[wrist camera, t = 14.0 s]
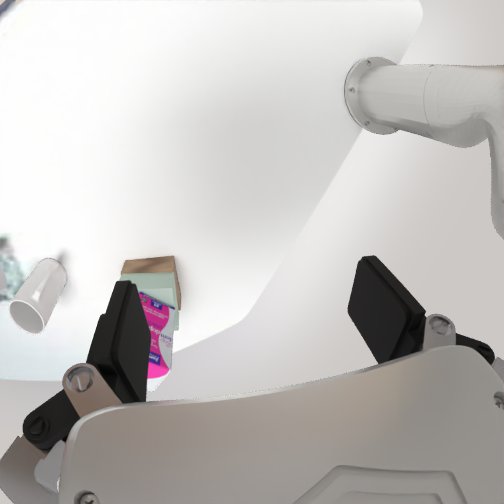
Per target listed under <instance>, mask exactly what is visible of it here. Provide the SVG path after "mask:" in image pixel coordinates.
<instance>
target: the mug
mask: <svg viewBox="0 0 504 504" xmlns="http://www.w3.org/2000/svg"><path fill="white" fill-rule="evenodd" d="M66 281H67V274H66V271H65V269H64V268H63V266H62V265H61V264H60V263H59V262H57V261H56V260H54V259H50V258H46V259H43V260H42V261H41V262H40V263H39V264H38V265H37V266H36V268H35V269H34V270H33V271H32V273H31V274H30V275H29V277H28V278H27V279H26V281H25V282H24V283H23V285H22V286H21V288H20V289H19V290H18V292H17V293H16V295H15V296H14V298H13V299H12V301H11V302H10V304H9V308H8V309H9V314H10V317H11V318H12V320H13V322H14V323H15V324H16V325H17V326H18V327H19V328H20V329H21V330H23V331H24V332H26V333H29V334H32V335H38V334H41V333H42V332H43V331H44V328H45V326H46V324H47V322H48V320H49V318H50V315H51V313H52V311H53V309H54V307H55V305H56V302H57V300H58V298H59V296H60V294H61V292H62V290H63V288H64V286H65V284H66Z"/></svg>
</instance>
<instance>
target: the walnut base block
mask: <svg viewBox="0 0 504 504" xmlns="http://www.w3.org/2000/svg"><path fill="white" fill-rule="evenodd" d="M157 272H174V278H175V287H176V295H177V302H178V310H180V309H181V293H180V288H179V283H178V278H177V273H176V267H175V261H174V256H166V257H156V258H146V259H136V260H126V261H125V263H124V266H123V269H122V271H121V275H122V274H127V273H157Z"/></svg>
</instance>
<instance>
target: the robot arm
mask: <svg viewBox="0 0 504 504" xmlns="http://www.w3.org/2000/svg"><path fill="white" fill-rule="evenodd" d="M366 63H367V64H366ZM350 89H351V91H350ZM345 99H346V103H347V106H348V109H349V111H350V113H351V115H352V116H353V118H354V119H355V121H356V122H357V123H358V124H359V125H360V126H362V127H363V128H364V129H366V130H368V131H370V132H373V133H376V134H383V135H384V134H391V133H394V132H396V131H398V130H399V129H400V130H404V131H407V132H411V133H414V134H418V135H421V136H424V137H428V138H431V139H434V140H437V141H441V142H443V143H446V144H449V145H452V146H455V147H461V148H467V147H472V146H475V145H477V144H479V143H481V142H482V141H484V140H485V139H487V138H488V140H489V146H490V157H491V169H492V171H491V173H492V174H491V175H492V177H491V179H492V181H491V216H492V221H493V224H494V227H495V229H496V231H497V233H498V234H499V235H500V236H501V237H502V238H503V239H504V65H497V66H460V65H458V66H457V65H396V64H395V63H393V62H392V61H390V60H388V59H385V58H380V57H371V58H366V59H363V60H361V61H359V62H358V63H356V64H355V65H354V66H353V67H352V69H351V70H350V72H349V74H348V76H347V79H346V83H345ZM425 313H426V311H425V309H424V308H423V307H422V306H421V305H420V304H419V303H418V301H417V300H416V299H415V298H414V297H413V296H412V295H411V294H410V292H409V291H408V290H407V289H406V288H405V287H404V286H403V285H402V283H401V282H400V281H399V280H398V279H397V278H396V277H395V276H394V275H393V274H392V273H391V272H390V270H388V268H387V267H386V266H385V265H384V264H383V263H382V262H381V261H380V260H379V259H378V258H377V257H376V256H374V255H373V256H364V257H362V259H361V260H360V261H359V262H358V264H357V269H356V274H355V278H354V283H353V287H352V292H351V296H350V300H349V305H348V314H349V316H350V318H351V319H352V321H353V322H354V324H355V326H356V327H357V329H358V330H359V332H360V334H361V336H362V337H363V339H364V340H365V342H366V344H367V345H368V347H369V349H370V350H371V352H372V354H373V356H374V357H375V359H376V361H377V362H378V365H374V366H371V367H368V368H364V369H360V370H357V371H353V372H349V373H345V374H341V375H337V376H333V377H329V378H324V379H320V380H315V381H311V382H306V383H302V384H296V385H291V386H286V387H280V388H275V389H268V390H262V391H255V392H249V393H242V394H234V395H225V396H216V397H205V398H195V399H181V400H167V401H149V402H146V391H147V378H148V367H149V356H150V347H151V332H150V329H149V326H148V322H147V319H146V316H145V313H144V310H143V306H142V303H141V299H140V296H139V292H138V289H137V286H136V284H135V283H132V282H131V281H130V280H124V281H117V282H116V284H115V287H114V289H113V292H112V295H111V298H110V301H109V304H108V307H107V310H106V313H105V314H102V315H101V316H100V318H99V321H98V324H97V327H96V330H95V333H94V337H93V340H92V343H91V347H90V350H89V354H88V357H87V361H86V363H80V364H76V365H74V366H72V367H71V368H69V369H68V370H67V371H66V373H65V374H64V377H63V380H62V385H63V388H64V389H63V390H62V391H60V392H59V393H57V394H56V395H55V396H53V397H52V398H50V399H49V400H48V401H46V402H45V403H43V404H42V405H41V406H39V407H38V408H36V409H35V410H34V411H32V412H31V413H30V414H29V415H28V416H27V417H26V418H25V420H24V423H23V433H24V434H23V436H22V437H21V438H20V437H19V436H17V438H16V439H15V440H14V442H13V443H12V444H11V446H10V447H9V449H8V450H7V451H6V453H5V454H4V456H3V457H2V458H1V460H0V488H1V490H2V491H3V492H4V493H5V494H6V496H7V497H8V498H9V499H10V500H11V501H12V502H13V503H14V504H504V360H502V359H501V358H499V357H497V358H496V359H495V356H494V352H493V350H492V349H491V348H490V347H489V346H488V345H487V344H485V343H483V342H481V341H478V340H475V339H472V338H469V337H466V336H463V335H460V334H457V333H456V332H455V326H454V324H453V322H452V321H451V320H450V319H448V318H447V317H446V316H443V315H440V314H432V315H430V316H428V317H427V318H426V316H425ZM59 477H60V481H59V493H58V490H57V481H58V479H59Z"/></svg>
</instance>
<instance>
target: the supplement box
mask: <svg viewBox="0 0 504 504" xmlns="http://www.w3.org/2000/svg"><path fill="white" fill-rule="evenodd" d="M139 296H140V299H141V303H142V306H143V310H144V313H145V316H146V319H147V322H148V326H149V329H150V332H151V347H150V356H149V367H148V378H147V390H150V391H152V392H154V391H155V389H156V388H157V387H158V386H159V384H160V383H161V382H162V381H163V380H164V378H165V377H166V376H167V375H168V374H169V373H170V372H171V365H172V346H173V330H174V317H175V308H174V307H171V306H169V305H166V304H164V303H162V302H160V301H158V300H156V299H154V298H151V297H149V296H147V295H146V294H144V293H142V292H139Z"/></svg>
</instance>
